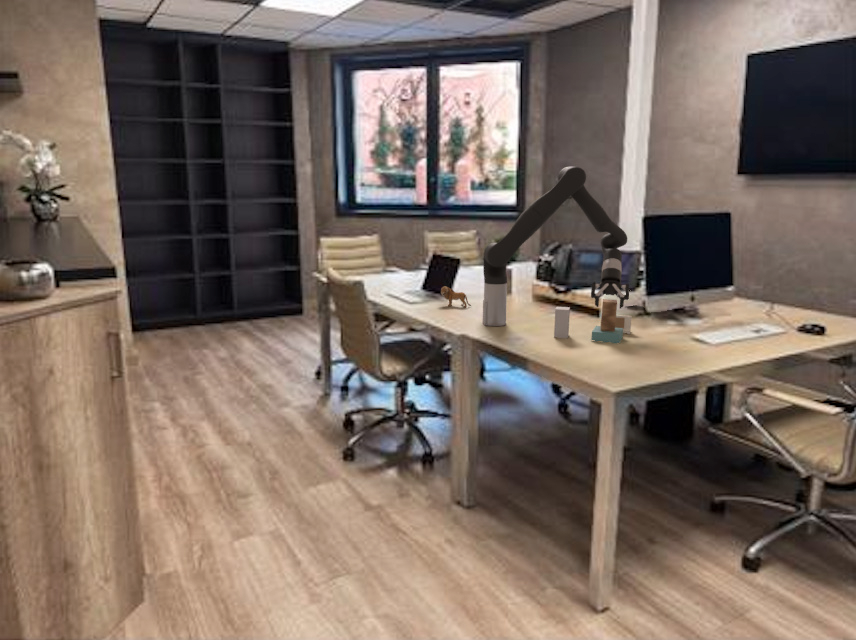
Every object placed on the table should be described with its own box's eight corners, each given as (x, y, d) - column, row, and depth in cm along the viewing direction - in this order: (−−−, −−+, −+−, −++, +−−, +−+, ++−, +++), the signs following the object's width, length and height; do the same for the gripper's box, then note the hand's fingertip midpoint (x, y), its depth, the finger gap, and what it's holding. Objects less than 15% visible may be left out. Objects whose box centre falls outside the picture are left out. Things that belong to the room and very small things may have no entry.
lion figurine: (439, 306, 301) (439, 287, 299) (442, 303, 306) (442, 285, 304) (469, 308, 297) (470, 288, 295) (472, 305, 302) (472, 286, 300)
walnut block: (600, 330, 239) (603, 301, 236) (600, 327, 244) (602, 299, 241) (614, 331, 238) (617, 302, 235) (614, 328, 243) (616, 299, 240)
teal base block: (591, 342, 239) (591, 331, 238) (595, 335, 248) (596, 325, 247) (619, 344, 235) (619, 334, 234) (622, 338, 244) (623, 328, 243)
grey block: (554, 337, 244) (555, 309, 241) (555, 334, 249) (556, 306, 246) (567, 338, 242) (568, 309, 240) (568, 335, 247) (569, 307, 245)
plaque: (606, 332, 252) (607, 315, 250) (606, 329, 255) (607, 313, 254) (630, 333, 249) (631, 317, 248) (630, 331, 253) (631, 315, 251)
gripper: (593, 266, 254) (589, 300, 246) (630, 267, 250) (628, 302, 242) (592, 277, 260) (589, 311, 252) (629, 279, 256) (627, 313, 248)
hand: (609, 306), depth 247 cm, fingers open, 8 cm apart
